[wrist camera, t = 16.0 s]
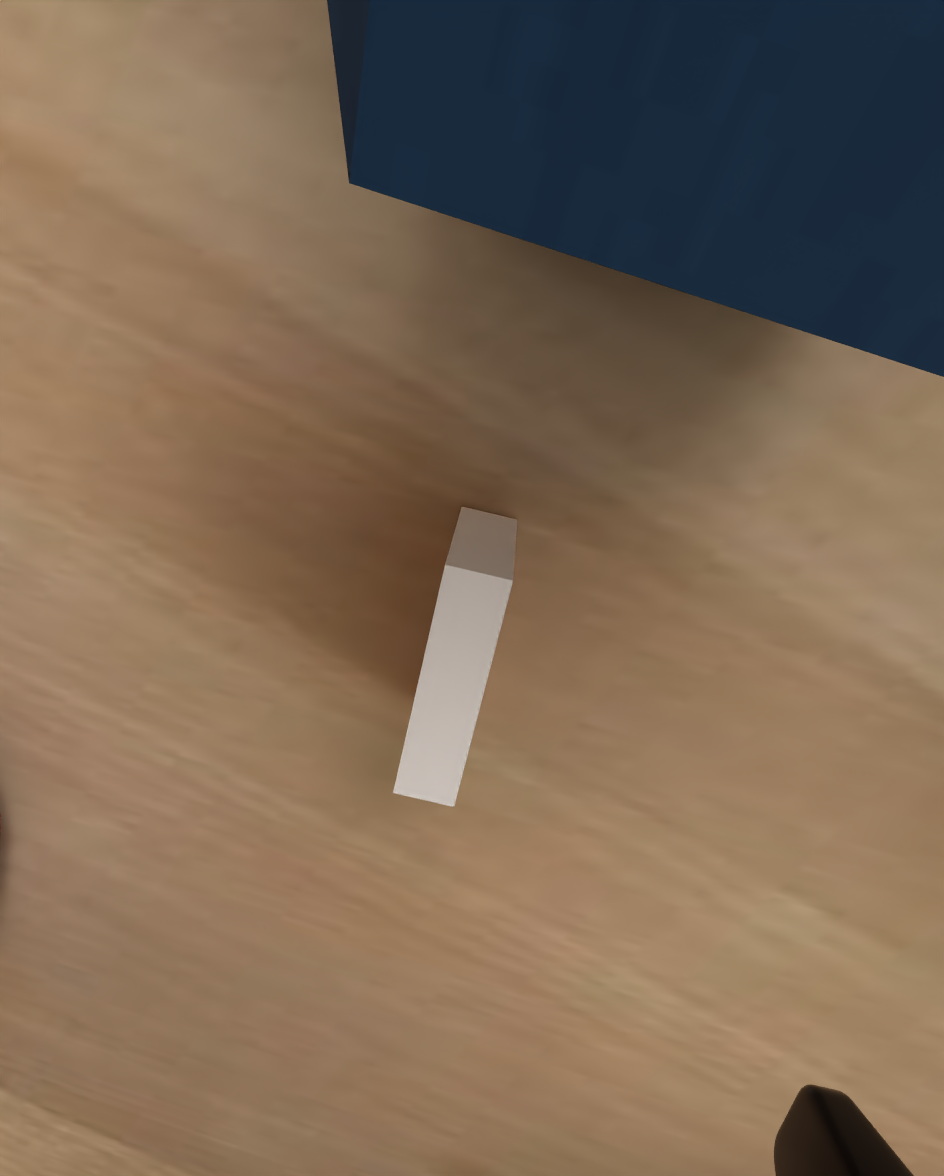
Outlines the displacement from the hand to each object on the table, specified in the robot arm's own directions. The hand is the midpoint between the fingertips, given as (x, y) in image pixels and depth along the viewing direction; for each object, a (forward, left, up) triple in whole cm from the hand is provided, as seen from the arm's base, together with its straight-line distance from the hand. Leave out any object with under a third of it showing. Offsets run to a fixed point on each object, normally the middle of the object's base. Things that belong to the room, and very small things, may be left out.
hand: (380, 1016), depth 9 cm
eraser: (0, 0, -11) cm, 11 cm away
